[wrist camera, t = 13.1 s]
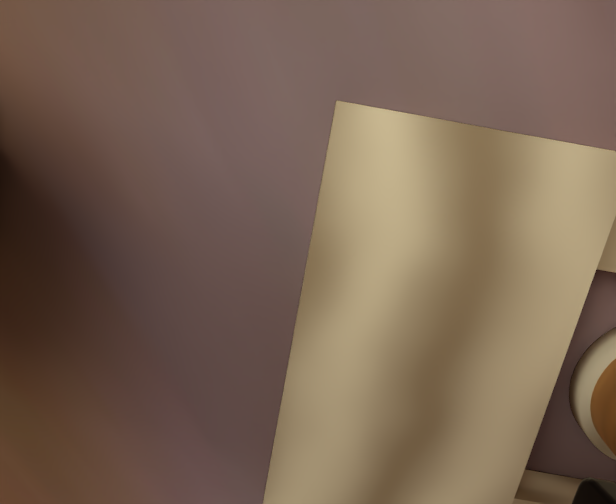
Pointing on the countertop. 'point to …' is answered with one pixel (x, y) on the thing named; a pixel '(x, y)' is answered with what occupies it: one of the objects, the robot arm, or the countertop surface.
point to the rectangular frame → (437, 311)
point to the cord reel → (597, 393)
